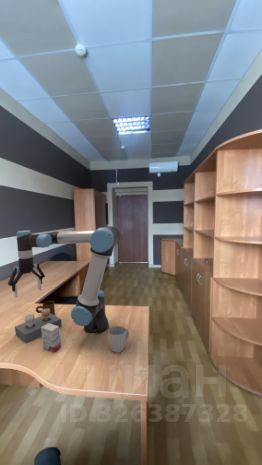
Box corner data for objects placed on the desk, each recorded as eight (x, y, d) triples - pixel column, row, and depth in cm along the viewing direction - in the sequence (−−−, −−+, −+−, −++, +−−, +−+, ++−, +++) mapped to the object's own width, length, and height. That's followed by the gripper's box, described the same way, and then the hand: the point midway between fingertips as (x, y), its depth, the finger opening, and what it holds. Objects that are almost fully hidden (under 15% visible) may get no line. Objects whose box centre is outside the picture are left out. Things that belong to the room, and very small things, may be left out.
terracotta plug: (52, 321, 134) (51, 309, 133) (44, 324, 130) (44, 312, 130) (48, 318, 137) (47, 307, 137) (40, 322, 134) (40, 310, 133)
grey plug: (36, 328, 127) (35, 315, 126) (28, 331, 123) (27, 319, 122) (32, 325, 130) (32, 313, 129) (24, 328, 126) (23, 316, 125)
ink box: (61, 347, 113) (60, 326, 112) (53, 353, 109) (52, 330, 108) (49, 343, 117) (48, 322, 116) (42, 348, 113) (40, 326, 112)
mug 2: (117, 356, 104) (116, 337, 104) (105, 349, 111) (104, 330, 110) (134, 344, 114) (134, 326, 113) (122, 338, 120) (122, 321, 119)
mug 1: (37, 322, 141) (36, 308, 140) (35, 317, 147) (34, 304, 146) (56, 316, 147) (55, 303, 147) (53, 312, 154) (52, 300, 153)
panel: (61, 326, 134) (61, 319, 134) (25, 343, 118) (25, 334, 117) (50, 319, 143) (49, 312, 143) (15, 334, 127) (14, 326, 126)
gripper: (43, 253, 135) (45, 285, 137) (-1, 260, 117) (2, 298, 119) (49, 254, 130) (51, 288, 132) (4, 262, 112) (7, 301, 114)
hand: (28, 293), depth 126 cm, fingers open, 13 cm apart
